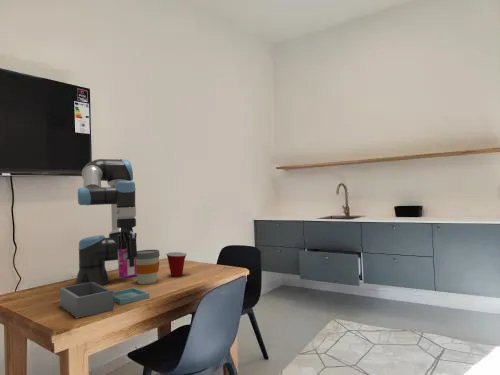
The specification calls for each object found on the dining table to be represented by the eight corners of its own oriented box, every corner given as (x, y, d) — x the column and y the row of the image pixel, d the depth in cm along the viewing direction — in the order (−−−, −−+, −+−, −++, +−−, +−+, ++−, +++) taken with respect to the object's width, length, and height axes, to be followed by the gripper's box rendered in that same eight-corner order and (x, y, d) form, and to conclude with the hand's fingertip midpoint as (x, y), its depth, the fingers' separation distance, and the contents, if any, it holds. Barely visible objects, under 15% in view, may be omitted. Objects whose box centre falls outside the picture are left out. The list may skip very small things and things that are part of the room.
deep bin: (60, 305, 132) (59, 287, 132) (93, 298, 141) (92, 281, 141) (77, 318, 117) (76, 298, 117) (113, 309, 125) (112, 290, 125)
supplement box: (117, 277, 141) (117, 249, 141) (132, 274, 144) (131, 247, 145) (122, 279, 136) (122, 250, 137) (137, 276, 140) (136, 248, 140)
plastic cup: (185, 277, 173) (184, 254, 174) (164, 278, 174) (163, 254, 174) (189, 273, 184) (188, 251, 185) (169, 273, 185) (169, 251, 185)
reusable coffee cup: (164, 279, 172) (164, 249, 173) (152, 285, 160) (151, 253, 160) (142, 278, 175) (142, 249, 175) (128, 284, 163) (128, 253, 163)
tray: (106, 297, 141) (106, 293, 141) (134, 291, 149) (134, 287, 149) (120, 304, 131) (120, 299, 131) (149, 297, 139) (149, 293, 139)
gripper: (108, 218, 145) (109, 272, 145) (127, 218, 132) (128, 278, 131) (125, 217, 151) (126, 269, 150) (145, 217, 137) (146, 275, 136)
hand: (127, 273), depth 140 cm, fingers closed on supplement box, 6 cm apart
